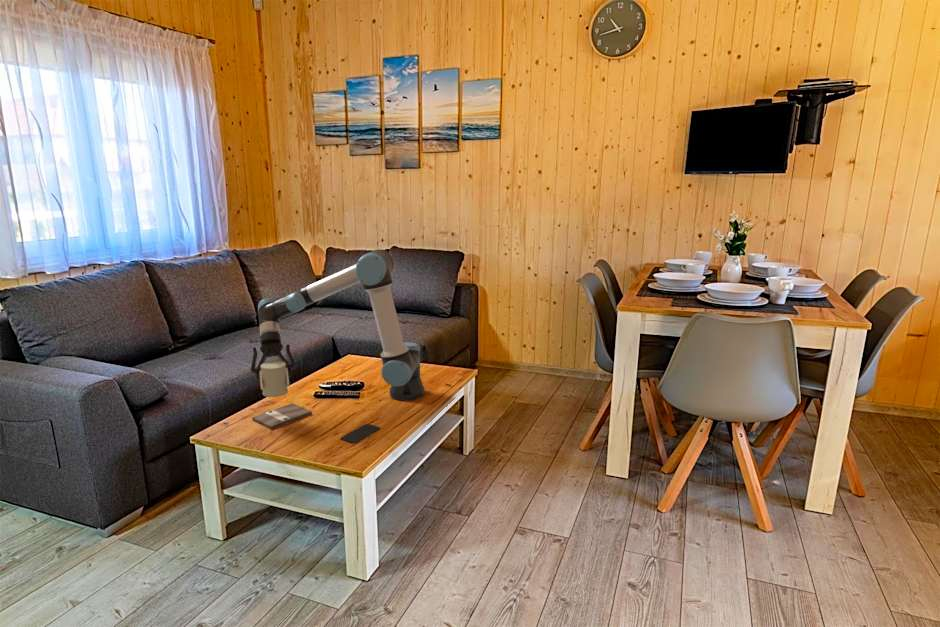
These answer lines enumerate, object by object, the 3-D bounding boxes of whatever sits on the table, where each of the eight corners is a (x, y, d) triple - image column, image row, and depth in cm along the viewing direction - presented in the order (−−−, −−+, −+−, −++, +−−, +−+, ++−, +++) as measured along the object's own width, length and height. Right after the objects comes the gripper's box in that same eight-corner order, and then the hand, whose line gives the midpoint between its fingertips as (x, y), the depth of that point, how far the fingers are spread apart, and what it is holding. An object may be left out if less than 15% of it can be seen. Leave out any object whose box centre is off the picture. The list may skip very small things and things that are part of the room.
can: (280, 398, 210) (277, 368, 207) (257, 396, 211) (255, 366, 208) (292, 389, 218) (290, 360, 215) (271, 387, 220) (268, 358, 217)
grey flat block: (311, 414, 222) (311, 410, 221) (271, 429, 208) (271, 425, 208) (292, 405, 230) (292, 402, 229) (252, 420, 216) (252, 416, 216)
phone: (381, 427, 210) (354, 443, 197) (381, 429, 210) (354, 445, 197) (366, 423, 213) (339, 438, 201) (366, 425, 213) (339, 440, 201)
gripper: (298, 337, 228) (304, 387, 218) (241, 342, 221) (245, 394, 210) (298, 327, 222) (304, 378, 212) (240, 332, 215) (243, 386, 204)
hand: (275, 386), depth 211 cm, fingers closed on can, 9 cm apart
